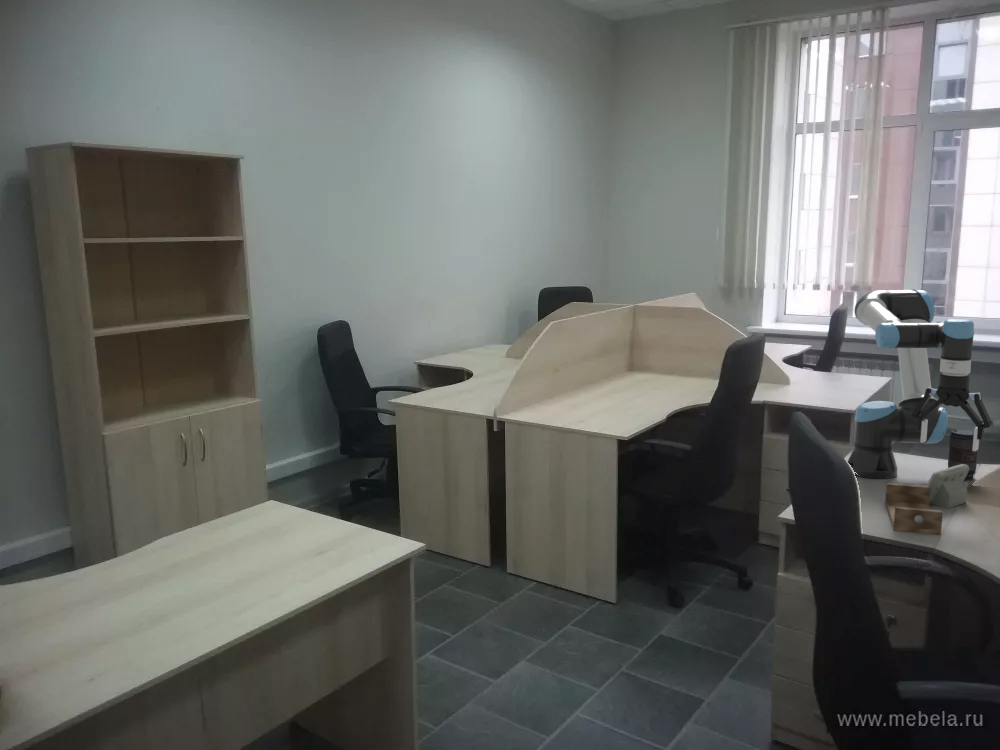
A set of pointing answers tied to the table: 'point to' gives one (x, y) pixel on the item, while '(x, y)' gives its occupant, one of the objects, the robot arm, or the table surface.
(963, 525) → the table surface
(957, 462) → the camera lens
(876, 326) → the robot arm
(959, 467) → the digital clock
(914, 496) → the walnut holder
